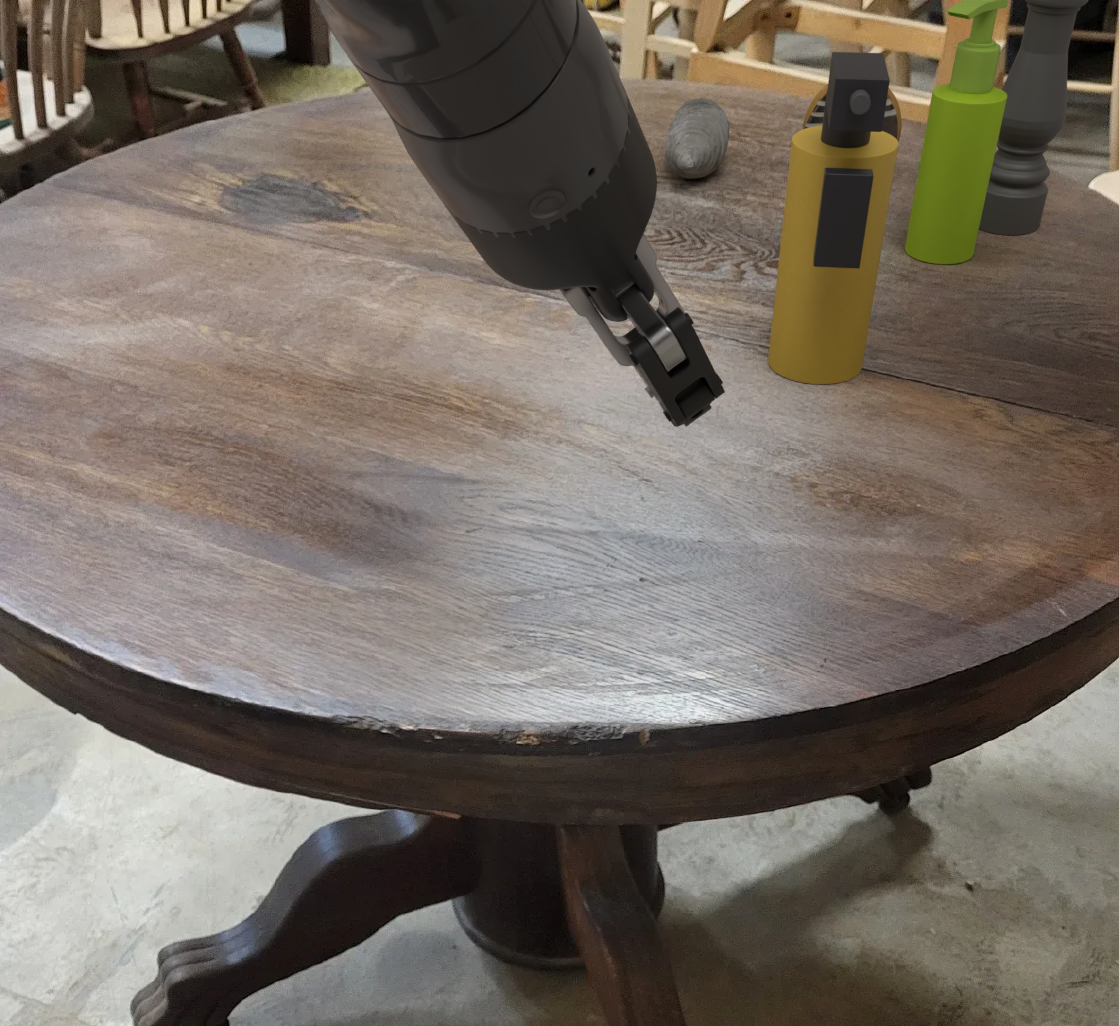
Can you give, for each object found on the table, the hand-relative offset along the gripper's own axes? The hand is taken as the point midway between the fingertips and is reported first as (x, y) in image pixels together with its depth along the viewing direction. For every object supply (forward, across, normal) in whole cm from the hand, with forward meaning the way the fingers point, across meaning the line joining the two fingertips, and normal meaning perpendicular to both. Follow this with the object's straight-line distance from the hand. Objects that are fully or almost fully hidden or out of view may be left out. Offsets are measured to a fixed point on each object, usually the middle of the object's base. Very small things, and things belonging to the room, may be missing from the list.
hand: (643, 345), depth 58 cm
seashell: (+57, +47, -18) cm, 76 cm away
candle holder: (+57, +22, -36) cm, 71 cm away
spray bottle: (+33, +10, -11) cm, 36 cm away
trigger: (+23, +10, -15) cm, 29 cm away
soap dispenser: (+51, +21, -28) cm, 62 cm away
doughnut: (+60, +38, -30) cm, 77 cm away
